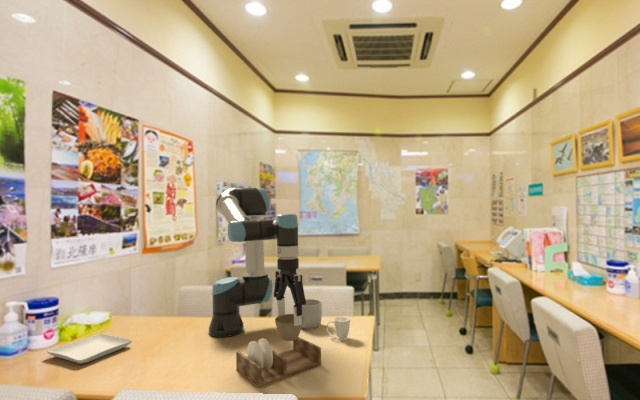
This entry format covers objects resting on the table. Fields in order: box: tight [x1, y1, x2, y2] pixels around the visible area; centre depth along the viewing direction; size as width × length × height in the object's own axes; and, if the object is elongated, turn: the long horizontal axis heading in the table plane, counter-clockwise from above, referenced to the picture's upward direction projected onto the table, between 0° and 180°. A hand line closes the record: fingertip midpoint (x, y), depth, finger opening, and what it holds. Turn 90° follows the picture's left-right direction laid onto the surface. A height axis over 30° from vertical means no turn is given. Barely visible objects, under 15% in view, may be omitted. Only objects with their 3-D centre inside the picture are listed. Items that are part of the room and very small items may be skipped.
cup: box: [326, 316, 351, 342], centre depth 147 cm, size 7×10×8 cm
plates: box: [246, 337, 273, 370], centre depth 117 cm, size 10×4×10 cm, turn 38°
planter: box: [302, 298, 323, 330], centre depth 164 cm, size 12×12×11 cm
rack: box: [235, 336, 322, 388], centre depth 121 cm, size 16×24×6 cm, turn 128°
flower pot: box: [274, 313, 304, 342], centre depth 124 cm, size 10×10×7 cm
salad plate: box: [46, 333, 133, 365], centre depth 139 cm, size 21×21×3 cm
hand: (289, 321), depth 124 cm, fingers closed on flower pot, 10 cm apart
